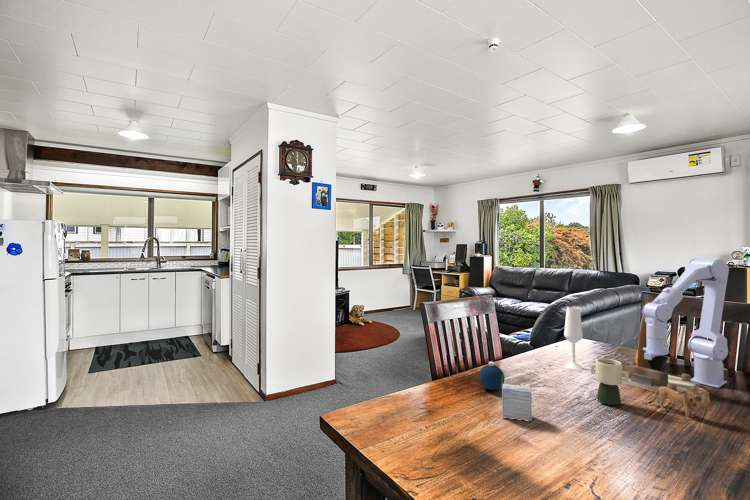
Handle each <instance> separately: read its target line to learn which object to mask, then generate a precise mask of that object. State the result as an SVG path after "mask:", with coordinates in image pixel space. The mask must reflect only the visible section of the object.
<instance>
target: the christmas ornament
mask: <svg viewBox="0 0 750 500" xmlns="http://www.w3.org/2000/svg"><path fill="white" fill-rule="evenodd" d="M478 379H479V382H480V384H481V385H482V387H484V388H485V389H486V390H489V389H490V390H489V391H497V390H499V389H502V384H505V374H504V371H503V370H502V369H501V368H500V367H499V366H498V365H495V362H494V361H493V360H492V359H491V360H490V361H488V364H486V365H484V366H483V367H482V368H481V369H480V370H479V373H478Z"/></svg>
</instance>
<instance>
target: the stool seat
mask: <svg viewBox="0 0 750 500" xmlns="http://www.w3.org/2000/svg"><path fill="white" fill-rule="evenodd" d="M628 364H631V365H636V362H635V361H632V360H630V361H628ZM691 376H692V375H690V374H688V373H681V377H679V376H675V375H670V374H668V384H667V386H665V387H668V388H670V389H672V390H674V391H676V392H682V391H685V390H691V389H694V388H700V383H699V382H696V381H692V380H691V379H692V377H691ZM622 378H624V379H625V376H623V377H622ZM621 384H625V385H628V386H632V387H636V388H640V389H643V390H647V391H651V392H655V393H656V391H657V389H658V388H659V387H662V386H659V385H656V384H653V378H652V377H648V376H644V375H640V374H636V373H632V374H631V378H629V381H628V382H623V381H622V383H621Z"/></svg>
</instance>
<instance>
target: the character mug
mask: <svg viewBox="0 0 750 500" xmlns="http://www.w3.org/2000/svg"><path fill="white" fill-rule="evenodd" d="M622 363H623V362H621V361H619V360H616V359H612V358H596V359H595V363H594V362H593V363H590V370H589V371H590V373H591V374H593V375H595V380H596V381H597V382H599V385H598V388H597V395H596V396H597V397H596V398H597V401H598V402H600V403H602V404H605V405H611V406H612V405H613V406H616V405H620V404H621V403H622V401H621V393H620V388H619V385H621V384H623V383H622V381H623V382H628V381H629V374H628V372H627V371H623V370H622ZM622 374H625V379H624V378H622V377H623V376H622Z"/></svg>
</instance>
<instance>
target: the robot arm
mask: <svg viewBox="0 0 750 500" xmlns="http://www.w3.org/2000/svg"><path fill="white" fill-rule="evenodd" d="M729 270H730V267H729V265H728V264H727V263H726V262H725V261H724V260H723V259H720V258H719V259H718V258H716V259H708V258H703V259H702V258H691V259H689V261H687V263H686V264H684V272H682V274H681V275H680V277H679V278H678V279H677V280H676V281H675V283H673V285H672V286H671V287H664V288H663V289H662V290H661V292H660V293H659V295H657V296H658V297H657V296H656V297H657V298H656V299H655V300H654V301H653V302H652V303H647V302H646V303H647V304H646V303H645V305H643V308H642V309H641V314H642V317H643V316H644V317H645V322H646V336H647V337H646V340H647V348H643V350H645V351H646V352H645V353H644V359H647V360H648V362H649V364H650V369H653V370H657V371H661V372H664V368H665V365H666V363H667V362H668V360H669V357H668V356H667V355H668V354H669V351H670V349H669V347H668V321H669V320H670V319H671V318H672V316H673V311H674V309H675V307H676V306H677V305H678V304H680V302H681V301H682V300H683V299H684V296H683V293H684V292H685V291H687V290H688V289H689V288H690V287H691V286H692V285H694V283H696V282H697V281H699V282H701V283H703V285H704V286H705V288H704V294H703V301H702V308H701V313H700V320H699V321H700V322H699V327H698V329H695V330H693V331H692V332H691V335H690V338H689V339H688V341H687V348H688V351H689V352H690V353H691V354H692V355H691V356H693V375H694V376H693V377H691V380H692V381H696V382H699V385H700V384H701V385H705V386H708V387H713V388H717V389H719V388H721V387H722V386H723V385H725V384H727V383H728V381H727V380H724V363H723V361H724V360H725V359H726V358H727V356H728V354H729V348H728V339H727V338H726V336H724V335H723V334H722V333H720V331H721V323H722V317H723V310H724V303H725V298H726V297H725V295H726V291H727V284H728V279H729V272H730V271H729Z"/></svg>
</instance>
